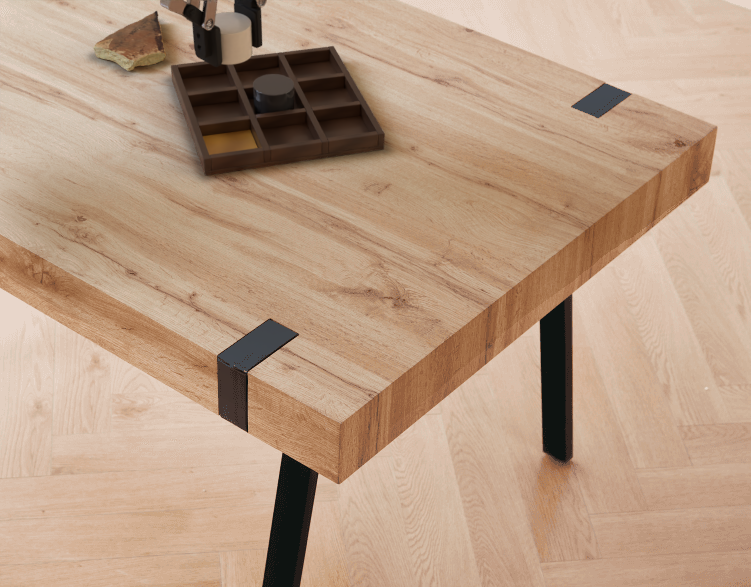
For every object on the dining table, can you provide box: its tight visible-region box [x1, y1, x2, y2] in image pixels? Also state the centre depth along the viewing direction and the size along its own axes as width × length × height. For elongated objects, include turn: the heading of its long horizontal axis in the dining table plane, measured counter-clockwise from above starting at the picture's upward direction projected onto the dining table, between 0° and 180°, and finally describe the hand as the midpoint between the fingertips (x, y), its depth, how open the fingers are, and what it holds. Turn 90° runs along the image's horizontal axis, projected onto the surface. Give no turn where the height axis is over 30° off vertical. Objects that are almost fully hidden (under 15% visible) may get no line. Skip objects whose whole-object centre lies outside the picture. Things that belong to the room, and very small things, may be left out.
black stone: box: [253, 74, 294, 115], centre depth 116 cm, size 4×4×3 cm
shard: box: [93, 10, 167, 72], centre depth 126 cm, size 11×8×2 cm
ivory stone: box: [214, 11, 253, 65], centre depth 102 cm, size 4×4×3 cm
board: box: [170, 45, 386, 176], centre depth 117 cm, size 19×19×2 cm
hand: (229, 49), depth 103 cm, fingers closed on ivory stone, 4 cm apart
